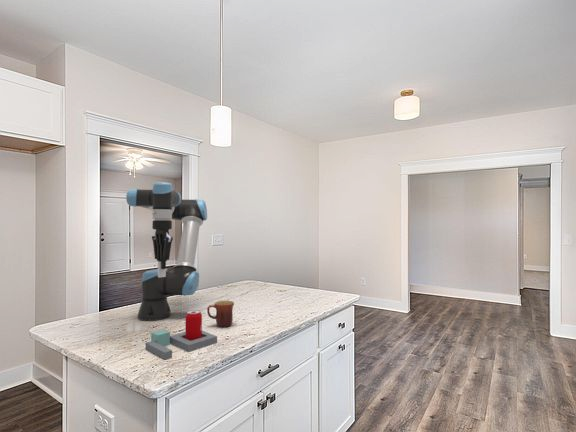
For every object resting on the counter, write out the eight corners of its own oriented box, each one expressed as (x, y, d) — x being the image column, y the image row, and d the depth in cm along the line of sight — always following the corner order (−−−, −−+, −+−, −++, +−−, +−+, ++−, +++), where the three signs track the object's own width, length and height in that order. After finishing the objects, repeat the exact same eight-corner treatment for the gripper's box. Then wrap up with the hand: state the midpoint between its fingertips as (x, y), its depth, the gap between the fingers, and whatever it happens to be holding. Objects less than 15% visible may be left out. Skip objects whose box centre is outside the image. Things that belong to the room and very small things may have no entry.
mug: (232, 321, 159) (233, 300, 160) (235, 327, 151) (235, 304, 151) (206, 323, 156) (206, 301, 156) (207, 329, 148) (207, 306, 148)
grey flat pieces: (145, 349, 125) (145, 342, 125) (196, 334, 142) (196, 328, 142) (164, 359, 116) (164, 352, 116) (217, 342, 133) (217, 336, 133)
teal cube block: (157, 348, 126) (151, 345, 129) (169, 345, 130) (163, 341, 133) (157, 335, 126) (151, 332, 129) (169, 332, 130) (163, 329, 133)
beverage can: (203, 339, 136) (203, 309, 136) (199, 345, 130) (200, 313, 130) (187, 339, 136) (188, 309, 136) (183, 345, 130) (183, 313, 130)
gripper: (145, 219, 142) (145, 276, 141) (161, 219, 133) (161, 279, 133) (162, 219, 147) (162, 274, 147) (178, 219, 139) (178, 277, 138)
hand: (161, 276), depth 140 cm, fingers closed
